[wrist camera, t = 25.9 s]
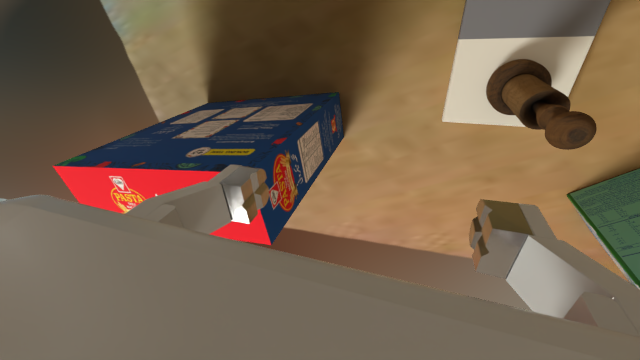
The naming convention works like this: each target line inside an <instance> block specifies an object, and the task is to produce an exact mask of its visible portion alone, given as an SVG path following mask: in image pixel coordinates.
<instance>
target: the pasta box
mask: <svg viewBox="0 0 640 360" xmlns="http://www.w3.org/2000/svg"><path fill="white" fill-rule="evenodd" d="M343 138H344V134H343V125H342V116H341V107H340V98H339V92H335V93H323V94H311V95H299V96H287V97H275V98H263V99H251V100H239V101H227V102H215V103H207V104H205V105H202V106H200V107H197V108H195V109H192V110H190V111H187V112H185V113H182V114H180V115H177V116H175V117H172V118H170V119H167V120H165V121H163V122H160V123H158V124H155V125H153V126H150V127H148V128H145V129H143V130H140V131H138V132H135V133H133V134H130V135H128V136H126V137H123V138H121V139H118V140H116V141H113V142H111V143H108V144H106V145H104V146H101V147H98V148H96V149H93V150H91V151H89V152H86V153H84V154H81V155H79V156H76V157H74V158H71V159H69V160H66V161H64V162H61V163H59V164H57V165H54V166H53V167H54V169H55V170H56V171H57V173H58V174H59V175H60V177H61V178H62V180H63V181H64V182H65V184H66V185H67V186H68V188H69V189H70V191H71V192H72V193H73V195H74V196H75V197H76V199H77V200H78V202H79V203H81V204H85V205H89V206H93V207H97V208H101V209H106V210H110V211H114V212H118V213H122V214H125V213H126V212H128V211H129V210H131V209H133V208H134V207H136V206H137V205H139V204H140V203H142V202H143V201H145V200H146V199H149V198H152V197H155V196H159V195H162V194H165V193H168V192H172V191H175V190H178V189H181V188H185V187H188V186H191V185H194V184H198V183H201V182H204V181H206V182H208V181H209V180H211V179H212V178H213V177H215V176H216V175H217V174H219V173H220V172H221V171H223V170H224V169H225V168H226V167H228V166H229V165H242V166H248V167H254V168H260V169H263V170H264V171H265V172H266V177H267V179H266V180H265V183H266V185H267V186H268V188H269V198H268V201H267V204H266V205H265V206H264V207H263V208H261V209H259V210H257V211H258V214H257V216H256V217H255V218H254V219H253V220H252V222H251V223H250V224H247V223H242V222H236V221H232V222H230V223H228V224H227V225H225V226H223V227H221V228H219V229H218V230H216V231H214V232H212V233H210V235H215V236H219V237H223V238H227V239H233V240H240V241H247V242H253V243H260V244H267V245H272V243H273V242H274V240H275V239H276V237H277V236H278V234H279V233H280V231H281V230H282V228H283V227H284V226H285V224H286V223H287V221H288V220H289V218H290V217H291V215H292V214H293V212H294V211H295V209H296V208H297V206H298V205H299V203H300V202H301V200H302V199H303V197H304V196H305V194H306V193H307V191H308V190H309V188H310V187H311V185H312V184H313V182H314V181H315V179H316V178H317V176H318V175H319V173H320V172H321V170H322V169H323V167H324V166H325V164H326V163H327V161H328V160H329V158H330V157H331V155H332V154H333V153H334V151H335V150H336V148H337V147H338V145H339V144H340V142H341V141H342V139H343Z"/></svg>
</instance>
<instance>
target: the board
mask: <svg viewBox="0 0 640 360" xmlns="http://www.w3.org/2000/svg"><path fill="white" fill-rule="evenodd" d="M610 1H611V0H466V2H465V7H464V12H463V17H462V22H461V27H460V32H459V37H458V42H457V47H456V51H455V56H454V61H453V66H452V71H451V76H450V81H449V86H448V91H447V96H446V100H445V105H444V110H443V115H442V122H457V123H474V124H490V125H506V126H522V127H526V126H525V125H523V124H522V123H521V122H520V120H519V119H518V118H517V117H516V115H505V114H502V113H500V112H498V111H496V110H495V109H494V108H493V107H492V106H491V104H490V103H489V101H488V99H487V96H486V87H487V83H488V81H489V79H490V77H491V75H492V74H493V73H494V72H495V71H496V70H497V69H498V68H499V67H500V66H502V65H503V64H505V63H507V62H510V61H513V60H517V59H529V60H533V61H535V62H537V63H539V64H541V65H543V66H544V67H545V68H546V69H547V70H548V71H549V73H550V75H551V79H552V85H551V87H553V88H555V89H556V90H558V91H560V92H562V93H563V94H565V95H566V96H567V97H568V96H569V93H570V91H571V89H572V87H573V84H574V82H575V80H576V77H577V75H578V73H579V71H580V68H581V66H582V64H583V62H584V59H585V57H586V55H587V53H588V50H589V48H590V46H591V44H592V41H593V39H594V37H595V35H596V32H597V30H598V28H599V25H600V23H601V21H602V19H603V16H604V14H605V12H606V10H607V7H608V5H609V3H610Z"/></svg>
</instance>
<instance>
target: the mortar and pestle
mask: <svg viewBox="0 0 640 360" xmlns="http://www.w3.org/2000/svg"><path fill="white" fill-rule="evenodd" d="M551 85H552V79H551V75H550V73H549V71H548V70H547V69H546V68H545V67H544V66H543V65H541V64H539V63H537V62H535V61H533V60H529V59H517V60H513V61H510V62H507V63H505V64H503V65H502V66H500V67H499V68H498V69H497V70H496V71H495V72H494V73H493V74H492V75H491V77H490V79H489V81H488V83H487V87H486V96H487V99H488V101H489V103H490V104H491V106H492V107H493V108H494V109H495V110H496V111H498V112H500V113H502V114H505V115H516V117H517V118H518V119H519V120H520V122H521V123H522V124H523V125H525V126H526V127H528V128H531V129H544V130H545V137H546V139H547V141H548V142H549V143H550V144H551V145H552V146H554V147H556V148H560V149H576V148H579V147H582V146H584V145H586V144H587V143H588V142H590V141H591V140H592V138H593V137H594V135H595V133H596V123H595V121H594V120H593V118H591V117H590V116H589V115H587V114H585V113H582V112H576V111H572V112H569V110H570V101H569V99H568V97H567V96H566V95H565V94H563V93H562V92H560V91H558V90H556V89H555V88H553V87H551Z"/></svg>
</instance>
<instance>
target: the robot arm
mask: <svg viewBox="0 0 640 360" xmlns="http://www.w3.org/2000/svg"><path fill="white" fill-rule="evenodd" d="M266 179H267V177H266V172H265V171H264V170H263V169H260V168H254V167H248V166H242V165H229V166H228V167H226V168H225V169H224V170H223V171H221V172H220V173H219V174H217V175H216V176H215V177H213V178H212V179H211V180H209V181H208V182H206V181H204V182H201V183H198V184H194V185H191V186H188V187H185V188H181V189H178V190H175V191H172V192H168V193H165V194H162V195H159V196H155V197H152V198H149V199H146V200H145V201H143V202H142V203H140V204H139V205H137V206H136V207H134V208H133V209H131V210H129V211H128V212H126V213H125V214H122V213H118V212H114V211H110V210H106V209H101V208H97V207H93V206H89V205H85V204H81V203H76V202H72V201H68V200H64V199H60V198H56V197H52V196H47V195H33V196H27V197H21V198H16V199H11V200H6V201H2V202H0V360H640V289H638V288H636V287H635V286H633V285H632V284H630V283H629V282H627V281H626V280H624V279H622V278H621V277H619V276H618V275H616V274H615V273H613V272H612V271H610V270H608V269H607V268H605V267H604V266H602V265H601V264H599V263H597V262H596V261H594V260H593V259H591V258H590V257H588V256H587V255H585V254H583V253H582V252H580V251H579V250H577V249H576V248H574V247H573V246H571V245H569V244H568V243H566V242H565V241H562V240H557V238H556V237H555V235H554V233H553V232H552V230H551V228H550V227H549V225H548V223H547V222H546V220H545V218H544V217H543V215H542V213H541V212H540V210H539V208H538V207H537V206H535V205H528V204H519V203H509V202H501V201H492V200H483V199H480V201H479V203H478V205H477V208H476V211H477V215H478V216H477V217H476V218H474V219H473V220H472V223H471V227H470V233H469V241H470V246H471V247H472V248H473V249H474V253H473V255H472V257H473V262H474V267H475V272H478V273H483V274H487V275H491V276H495V277H499V278H504V279H506V281H507V282H508V283H509V284H510V285H511V287H512V288H513V289H514V290H515V291H516V292H517V293H518V295H519V296H520V297H521V298H522V299H523V300H524V301H525V303H526V304H527V305H528V306H529V307H530V308H531V309H532V311H529V310H525V309H521V308H517V307H512V306H508V305H504V304H500V303H496V302H491V301H487V300H482V299H479V298H475V297H470V296H466V295H462V294H457V293H454V292H449V291H445V290H441V289H437V288H433V287H428V286H424V285H420V284H416V283H411V282H407V281H403V280H399V279H395V278H391V277H386V276H382V275H378V274H374V273H370V272H366V271H361V270H357V269H353V268H349V267H344V266H340V265H336V264H332V263H328V262H323V261H319V260H315V259H311V258H306V257H302V256H298V255H294V254H290V253H286V252H281V251H277V250H273V249H269V248H265V247H261V246H256V245H252V244H248V243H244V242H240V241H235V240H231V239H227V238H223V237H219V236H215V235H210V233H212V232H214V231H216V230H218V229H219V228H221V227H223V226H225V225H227V224H228V223H230V222H232V221H236V222H242V223H247V224H250V223H251V222H252V220H253V219H254V218H255V217H256V216H257V214H258V211H257V210H259V209H261V208H263V207H264V206H265V205H266V204H267V201H268V198H269V188H268V186H267V185H266V183H265V180H266Z"/></svg>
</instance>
